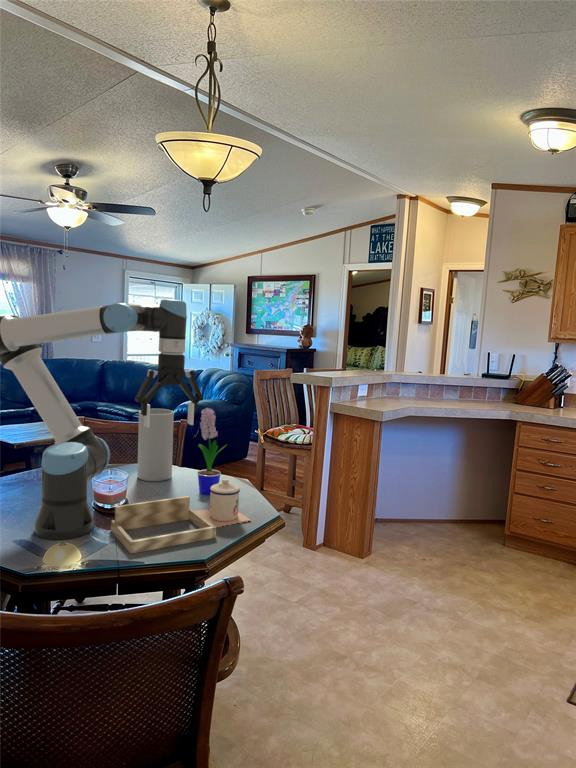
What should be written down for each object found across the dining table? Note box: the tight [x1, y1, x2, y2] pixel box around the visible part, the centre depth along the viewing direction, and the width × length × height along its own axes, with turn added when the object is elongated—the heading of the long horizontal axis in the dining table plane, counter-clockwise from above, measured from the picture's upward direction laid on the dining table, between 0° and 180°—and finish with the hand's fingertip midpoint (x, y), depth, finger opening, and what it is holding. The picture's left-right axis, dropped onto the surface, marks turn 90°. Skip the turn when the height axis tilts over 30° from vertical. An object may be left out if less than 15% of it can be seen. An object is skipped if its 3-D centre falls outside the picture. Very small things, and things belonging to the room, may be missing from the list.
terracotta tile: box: [194, 508, 252, 529], centre depth 171 cm, size 14×14×1 cm
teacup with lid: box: [209, 478, 241, 521], centre depth 171 cm, size 12×9×12 cm
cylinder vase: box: [137, 408, 175, 483], centre depth 207 cm, size 12×12×25 cm
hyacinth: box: [197, 407, 228, 496], centre depth 193 cm, size 9×10×30 cm
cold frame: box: [110, 495, 217, 555], centre depth 155 cm, size 24×17×7 cm
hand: (168, 425), depth 164 cm, fingers open, 13 cm apart
